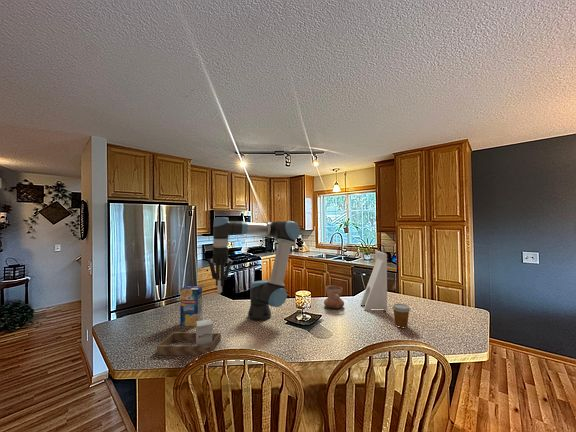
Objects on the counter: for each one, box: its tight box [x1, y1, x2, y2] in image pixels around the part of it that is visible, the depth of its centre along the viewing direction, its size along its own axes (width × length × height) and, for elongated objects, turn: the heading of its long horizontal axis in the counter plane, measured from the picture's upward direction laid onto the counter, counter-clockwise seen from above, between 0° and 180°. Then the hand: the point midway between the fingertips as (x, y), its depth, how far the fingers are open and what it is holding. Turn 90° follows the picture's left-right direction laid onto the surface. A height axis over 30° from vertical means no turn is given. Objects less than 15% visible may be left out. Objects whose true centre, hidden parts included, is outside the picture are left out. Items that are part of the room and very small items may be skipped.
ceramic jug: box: [323, 285, 345, 310], centre depth 185 cm, size 18×14×14 cm
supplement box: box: [195, 318, 213, 346], centre depth 128 cm, size 7×7×13 cm
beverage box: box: [179, 285, 203, 327], centre depth 157 cm, size 7×11×22 cm, turn 86°
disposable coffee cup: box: [392, 303, 411, 327], centre depth 151 cm, size 10×10×12 cm
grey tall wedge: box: [359, 249, 388, 312], centre depth 183 cm, size 20×14×40 cm
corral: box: [156, 331, 222, 357], centre depth 128 cm, size 26×15×4 cm, turn 87°
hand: (219, 292), depth 132 cm, fingers closed
